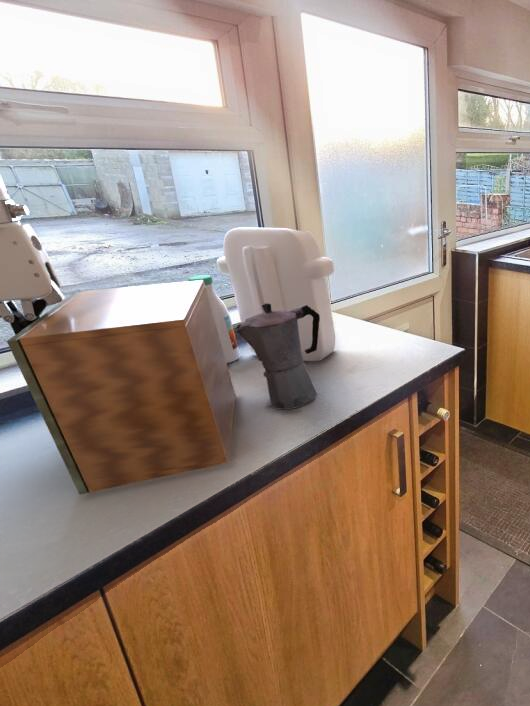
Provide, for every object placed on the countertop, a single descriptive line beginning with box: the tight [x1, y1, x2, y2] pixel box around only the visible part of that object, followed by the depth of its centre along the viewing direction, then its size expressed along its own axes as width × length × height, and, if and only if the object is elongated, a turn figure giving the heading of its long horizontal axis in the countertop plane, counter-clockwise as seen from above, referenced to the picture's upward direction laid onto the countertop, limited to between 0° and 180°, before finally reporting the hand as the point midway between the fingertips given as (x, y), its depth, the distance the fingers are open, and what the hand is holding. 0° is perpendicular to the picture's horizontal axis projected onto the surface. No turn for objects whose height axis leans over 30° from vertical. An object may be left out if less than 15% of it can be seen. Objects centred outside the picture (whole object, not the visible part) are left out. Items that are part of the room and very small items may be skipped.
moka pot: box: [233, 303, 320, 410], centre depth 95 cm, size 10×15×20 cm, turn 137°
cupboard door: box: [6, 291, 89, 495], centre depth 77 cm, size 7×26×24 cm, turn 24°
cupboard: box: [19, 280, 237, 493], centre depth 81 cm, size 18×26×24 cm
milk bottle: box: [187, 274, 241, 364], centre depth 115 cm, size 8×8×20 cm
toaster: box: [216, 226, 336, 362], centre depth 115 cm, size 27×11×30 cm, turn 77°
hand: (36, 344), depth 74 cm, fingers closed
